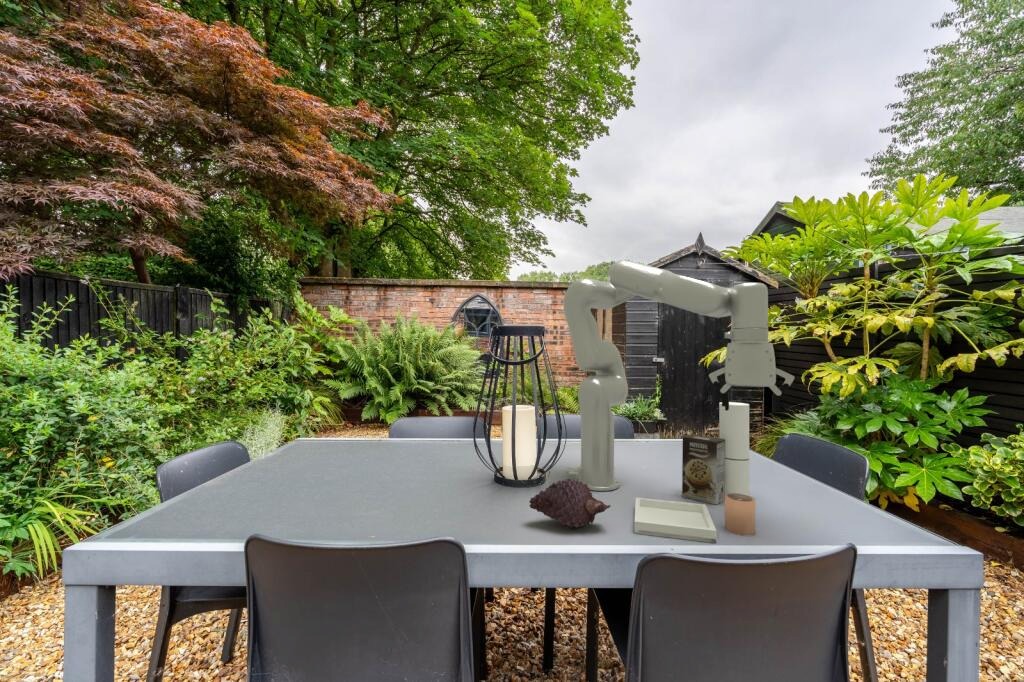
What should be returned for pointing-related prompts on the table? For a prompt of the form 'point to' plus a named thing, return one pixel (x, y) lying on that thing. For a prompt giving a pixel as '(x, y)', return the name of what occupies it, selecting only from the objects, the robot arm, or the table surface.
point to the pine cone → (568, 503)
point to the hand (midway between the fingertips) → (750, 411)
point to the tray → (674, 520)
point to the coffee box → (703, 468)
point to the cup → (740, 514)
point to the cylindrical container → (735, 447)
